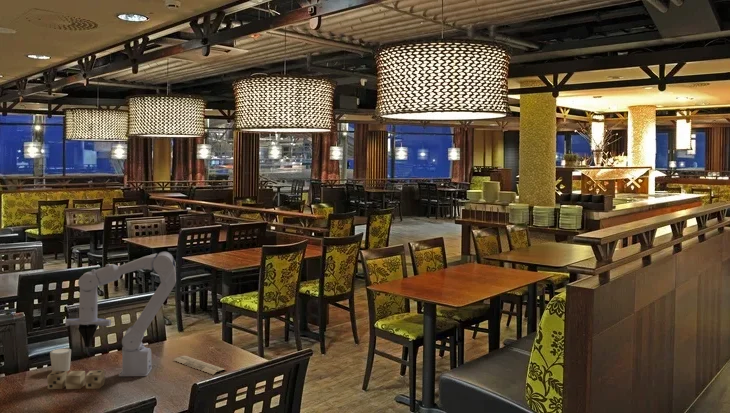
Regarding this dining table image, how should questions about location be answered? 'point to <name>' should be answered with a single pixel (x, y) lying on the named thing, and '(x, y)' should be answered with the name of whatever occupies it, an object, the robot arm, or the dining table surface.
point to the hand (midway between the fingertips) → (88, 346)
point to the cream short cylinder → (60, 359)
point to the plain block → (75, 380)
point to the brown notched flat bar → (198, 364)
